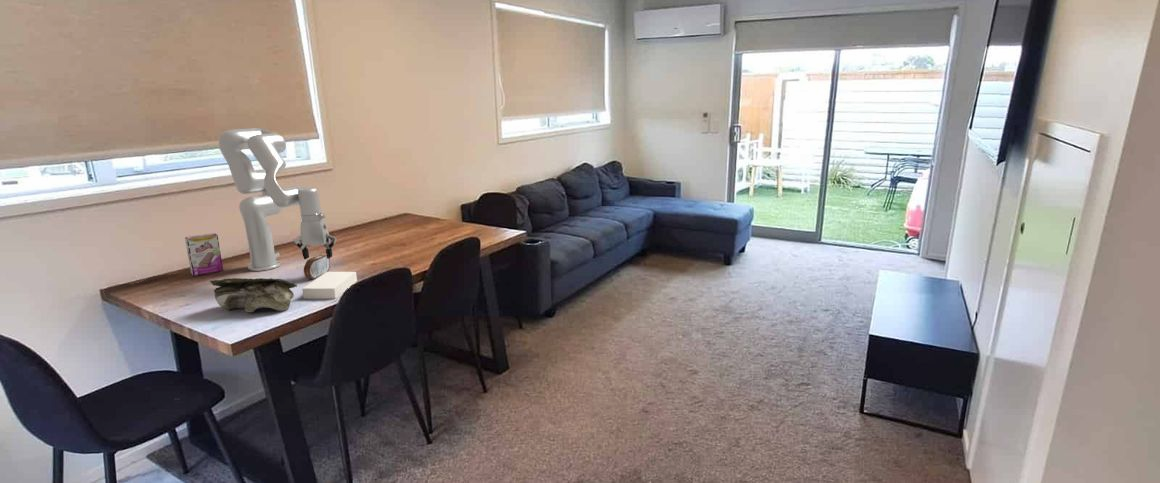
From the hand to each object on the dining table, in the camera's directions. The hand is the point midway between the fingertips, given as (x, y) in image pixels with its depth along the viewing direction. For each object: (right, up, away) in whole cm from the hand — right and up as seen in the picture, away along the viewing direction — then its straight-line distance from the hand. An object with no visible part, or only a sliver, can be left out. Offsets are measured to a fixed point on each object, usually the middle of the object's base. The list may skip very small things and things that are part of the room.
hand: (318, 258), depth 230 cm
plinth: (+12, -12, -14) cm, 22 cm away
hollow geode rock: (-7, -17, -33) cm, 37 cm away
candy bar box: (-51, -7, +7) cm, 52 cm away
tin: (-1, -8, +2) cm, 8 cm away
